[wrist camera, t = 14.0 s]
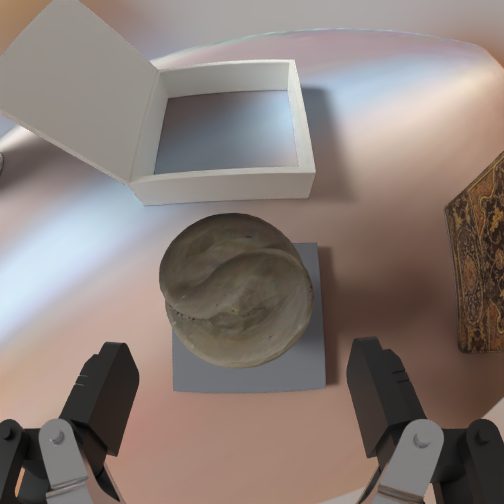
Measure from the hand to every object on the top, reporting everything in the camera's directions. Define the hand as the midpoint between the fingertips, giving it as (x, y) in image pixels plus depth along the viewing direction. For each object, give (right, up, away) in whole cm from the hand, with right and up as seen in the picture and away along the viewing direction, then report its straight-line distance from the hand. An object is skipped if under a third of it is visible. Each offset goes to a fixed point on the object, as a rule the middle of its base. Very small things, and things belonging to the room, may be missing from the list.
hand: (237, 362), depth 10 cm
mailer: (-6, +16, +21) cm, 27 cm away
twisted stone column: (0, -2, +13) cm, 13 cm away
